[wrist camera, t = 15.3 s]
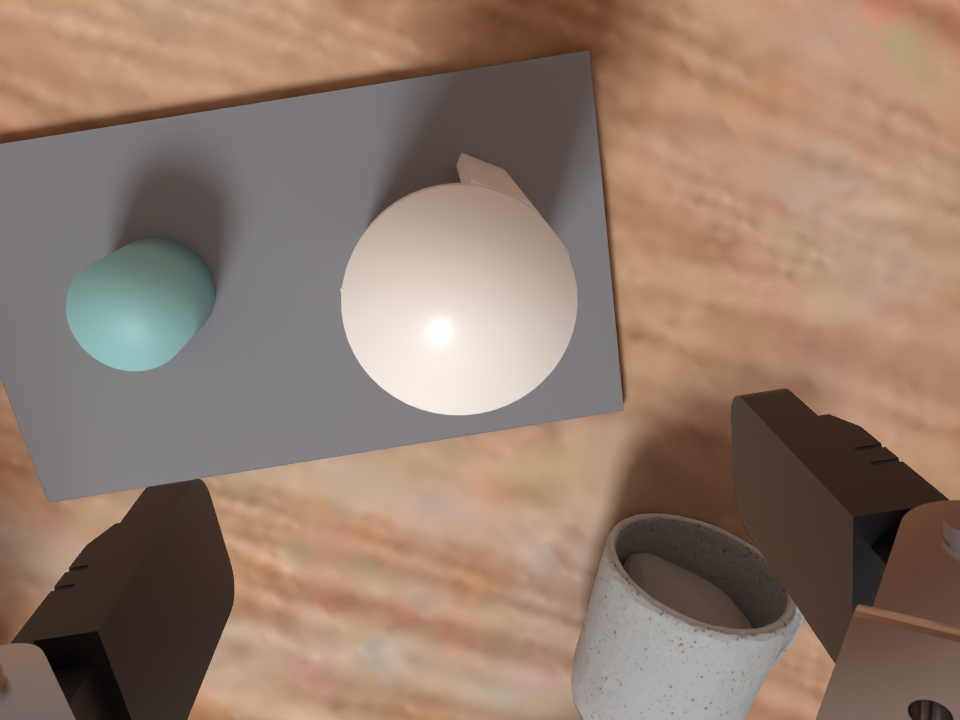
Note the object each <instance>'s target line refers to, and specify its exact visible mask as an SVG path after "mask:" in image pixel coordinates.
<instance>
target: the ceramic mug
mask: <svg viewBox="0 0 960 720" xmlns="http://www.w3.org/2000/svg"><path fill="white" fill-rule="evenodd" d="M804 619H805V618H804V616H803V615H802V613H801V612H800V610H799V609H798V607H797V606H796V604H795V603H794V601H793V600H792V598H791V597H790V595H789V594H788V592H787V591H786V589H785V588H784V586H783V585H782V584H781V582H780V581H779V579H778V578H777V576H776V575H775V573H774V572H773V570H772V569H771V567H770V566H769V564H768V563H767V561H766V560H765V558H764V557H763V555H762V554H761V552H760V551H759V550H758V549H756V548H755V547H754V546H752V545H751V544H749V543H747V542H745V541H744V540H742V539H740V538H739V537H738V536H736V535H733V534H731V533H729V532H727V531H725V530H723V529H721V528H719V527H717V526H714V525H712V524H709V523H706V522H702V521H699V520H696V519H692V518H687V517H683V516H679V515H672V514H665V513H663V514H659V513H648V514H638V515H635V516H632V517H628V518H625V519H624V520H622V521H621V522H619V523H618V524H616V525H615V527H614V528H613V529H612V530H611V532H610V533H609V535H608V536H607V539H606V543H605V547H604V550H603V554H602V558H601V561H600V565H599V568H598V572H597V575H596V579H595V582H594V586H593V590H592V593H591V597H590V601H589V605H588V609H587V613H586V617H585V621H584V624H583V627H582V630H581V634H580V637H579V640H578V643H577V647H576V650H575V655H574V659H573V670H572V692H573V698H574V702H575V705H576V707H577V710H578V712H579V715H580V716H581V718H582V720H746V718H747V715H748V713H749V711H750V708H751V706H752V703H753V701H754V699H755V697H756V695H757V693H758V691H759V689H760V687H761V685H762V683H763V681H764V679H765V678H766V676H767V675H768V672H769V670H770V668H771V667H772V666H773V665H774V664H775V663H776V662H777V661H778V660H779V659H780V658H781V657H782V655H783V654H784V653H785V652H786V651H787V649H788V648H789V647H790V645H791V644H792V643H793V641H794V639H795V637H796V636H797V634H798V632H799V630H800V628H801V626H802V624H803V622H804Z"/></svg>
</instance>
